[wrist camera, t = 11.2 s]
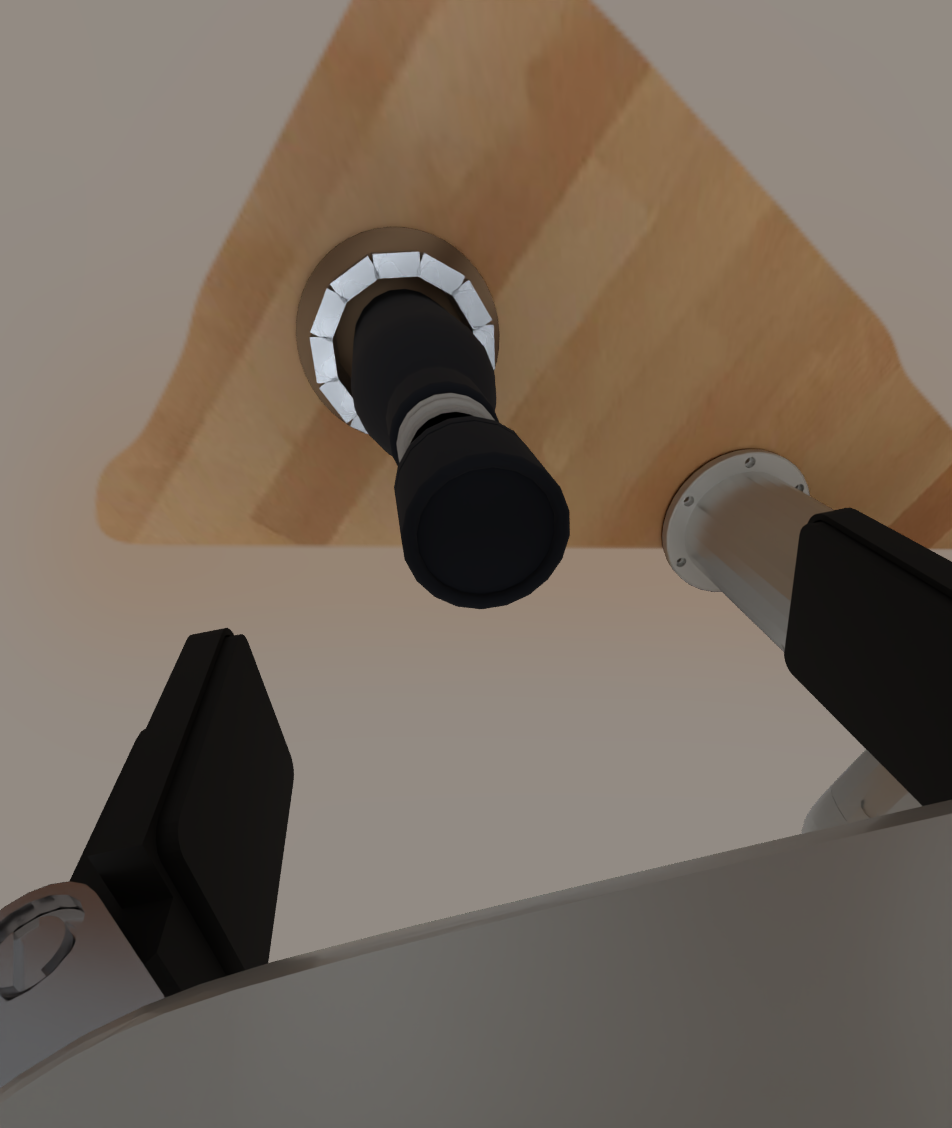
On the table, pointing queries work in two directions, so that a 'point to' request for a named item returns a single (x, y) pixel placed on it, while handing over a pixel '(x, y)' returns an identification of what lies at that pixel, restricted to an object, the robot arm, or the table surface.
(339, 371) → the bottle stand
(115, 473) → the table surface
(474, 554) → the black tall rounded piece
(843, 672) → the robot arm
